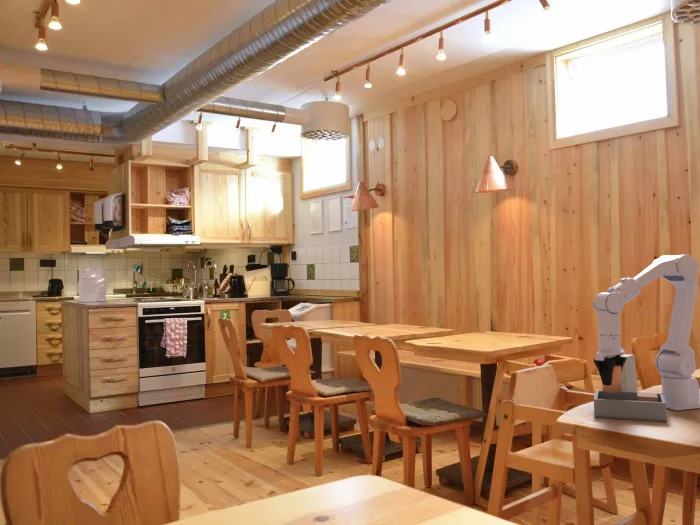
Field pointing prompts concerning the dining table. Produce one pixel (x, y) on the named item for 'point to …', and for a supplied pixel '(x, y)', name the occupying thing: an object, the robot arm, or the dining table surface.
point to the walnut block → (647, 397)
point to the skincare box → (629, 374)
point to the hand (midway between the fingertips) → (611, 383)
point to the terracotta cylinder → (614, 381)
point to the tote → (628, 407)
